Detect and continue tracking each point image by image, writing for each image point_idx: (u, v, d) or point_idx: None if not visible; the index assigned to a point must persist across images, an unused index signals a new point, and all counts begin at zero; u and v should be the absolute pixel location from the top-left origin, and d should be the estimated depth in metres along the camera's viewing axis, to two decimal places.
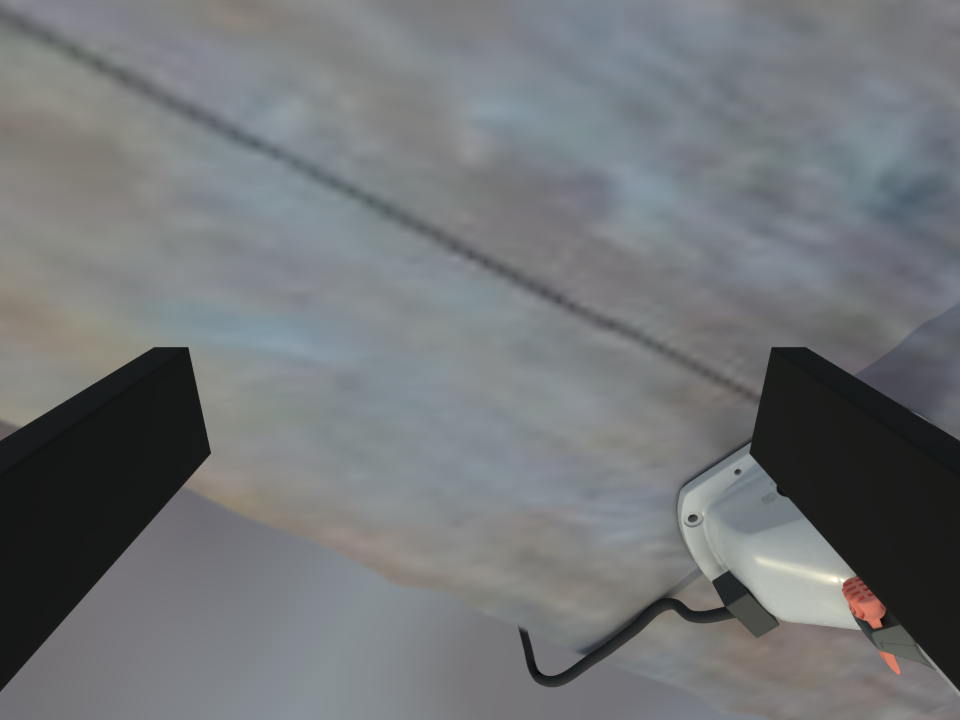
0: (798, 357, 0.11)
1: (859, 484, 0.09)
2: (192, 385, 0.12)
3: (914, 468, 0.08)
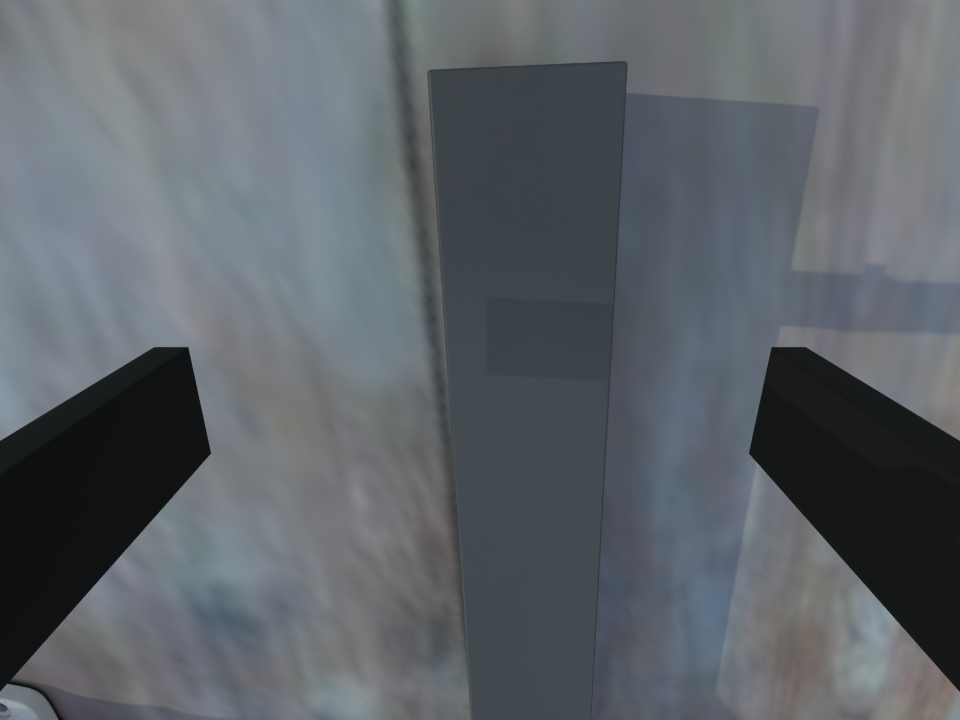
0: (798, 357, 0.11)
1: (859, 484, 0.09)
2: (192, 385, 0.12)
3: (914, 468, 0.08)
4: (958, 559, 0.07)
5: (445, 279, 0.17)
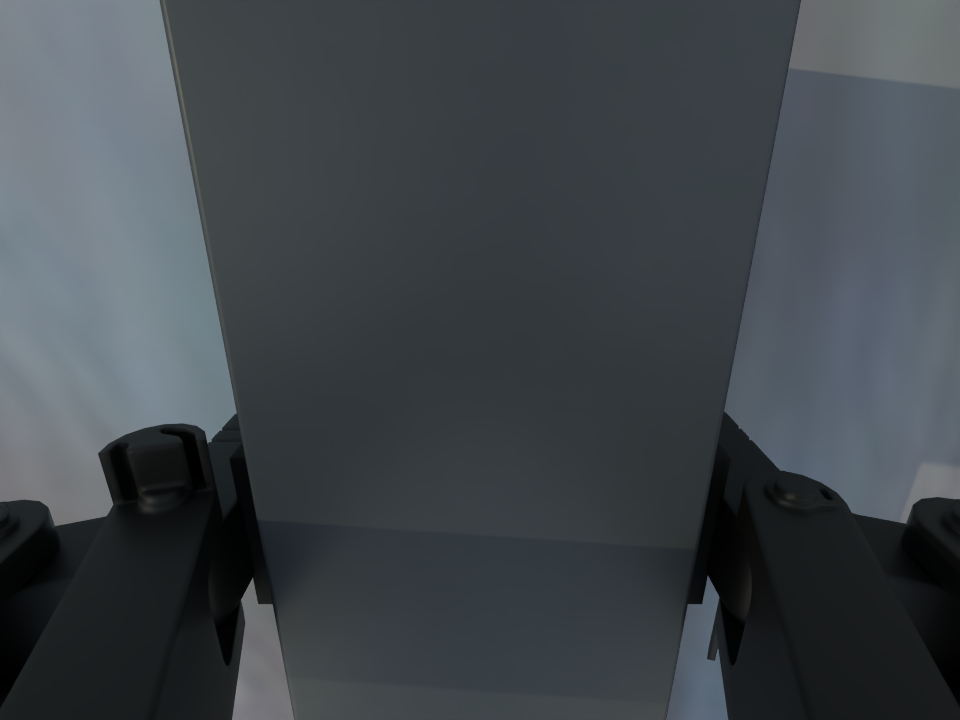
0: None
1: None
2: None
3: None
4: None
5: (260, 491, 0.06)
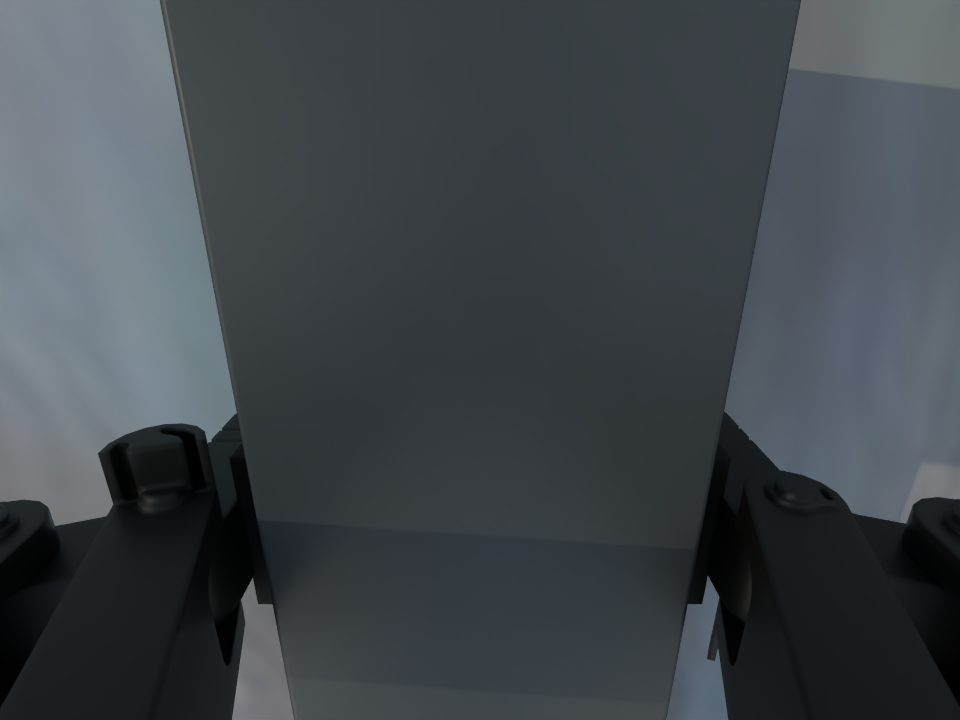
0: None
1: None
2: None
3: None
4: None
5: (259, 491, 0.06)
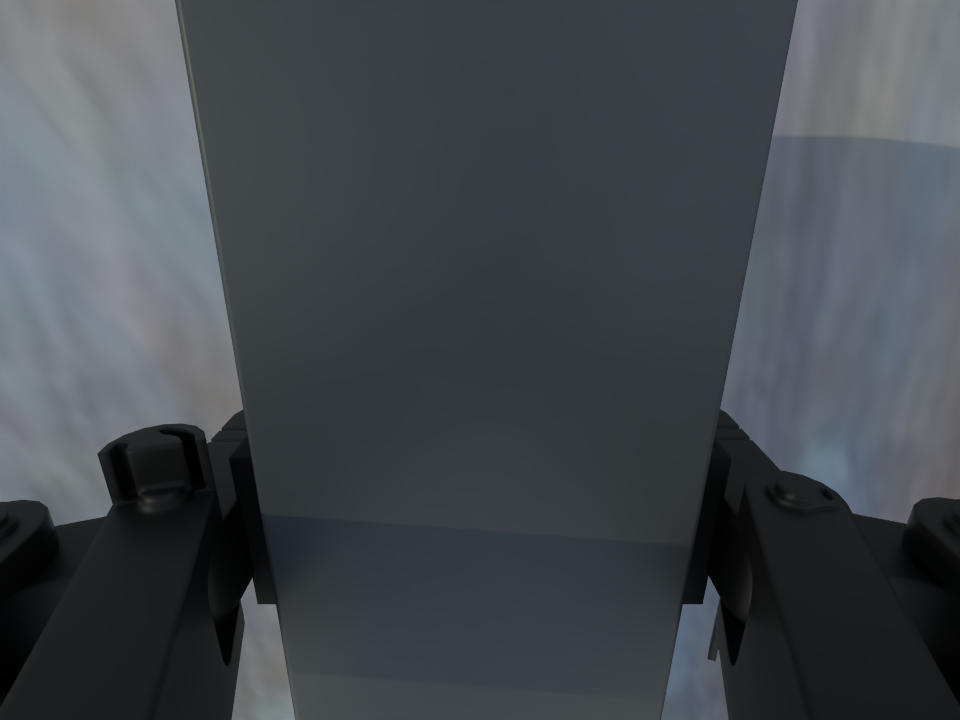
0: None
1: None
2: None
3: None
4: None
5: (265, 487, 0.07)
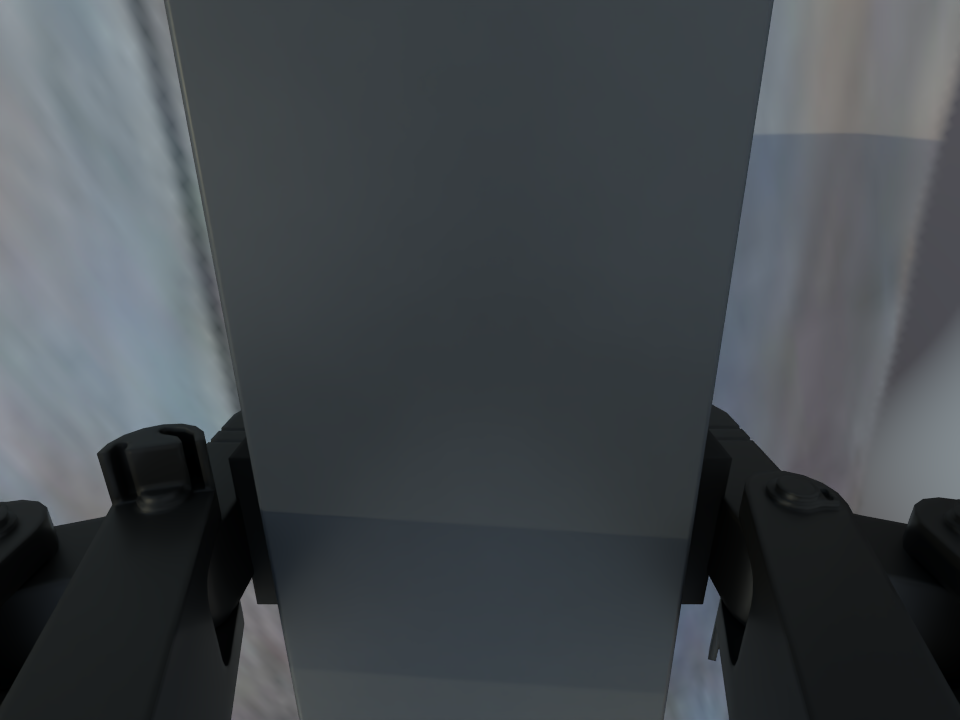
0: None
1: None
2: None
3: None
4: None
5: (264, 489, 0.07)
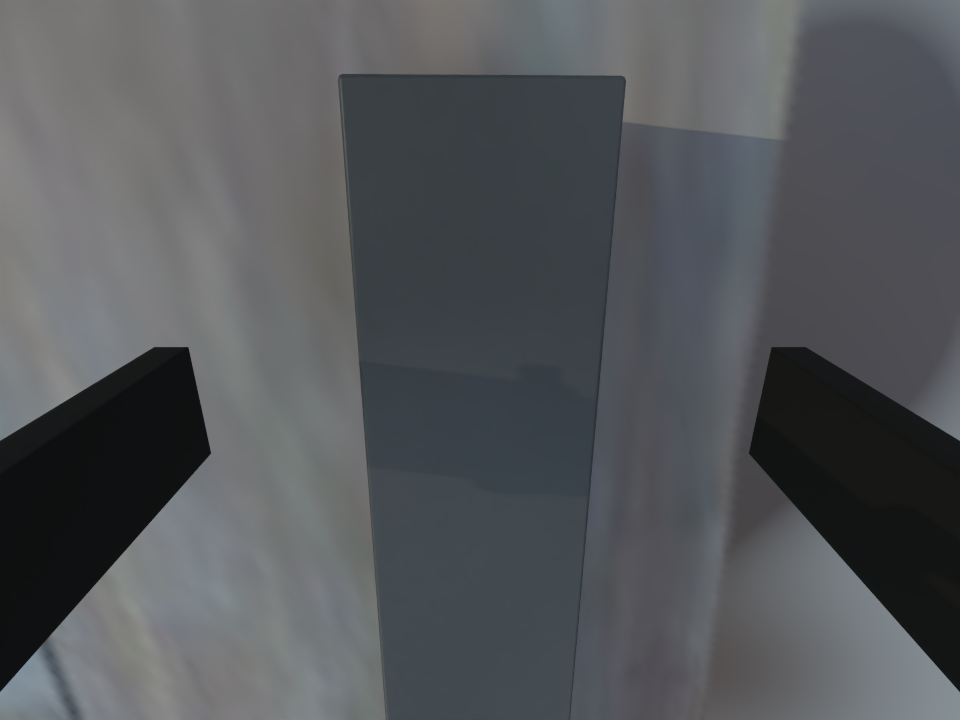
0: (798, 357, 0.11)
1: (859, 484, 0.09)
2: (192, 385, 0.12)
3: (913, 468, 0.08)
4: (957, 559, 0.07)
5: (364, 364, 0.12)
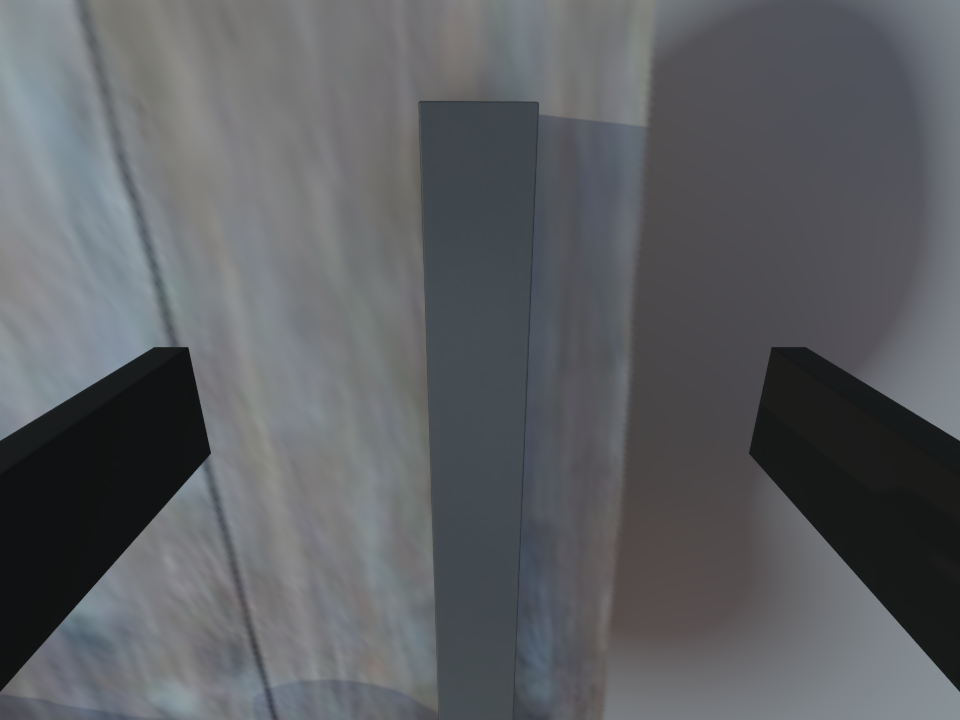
0: (798, 357, 0.11)
1: (859, 484, 0.09)
2: (192, 385, 0.12)
3: (914, 468, 0.08)
4: (958, 559, 0.07)
5: (425, 232, 0.27)
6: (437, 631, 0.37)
